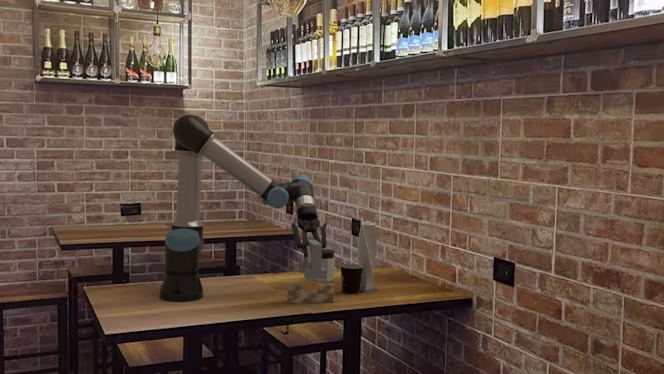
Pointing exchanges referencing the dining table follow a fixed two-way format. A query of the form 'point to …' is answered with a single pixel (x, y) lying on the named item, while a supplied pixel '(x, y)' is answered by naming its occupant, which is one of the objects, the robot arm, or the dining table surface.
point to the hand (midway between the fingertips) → (315, 263)
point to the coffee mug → (351, 278)
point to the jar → (328, 265)
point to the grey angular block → (313, 262)
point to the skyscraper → (367, 254)
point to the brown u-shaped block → (310, 294)
